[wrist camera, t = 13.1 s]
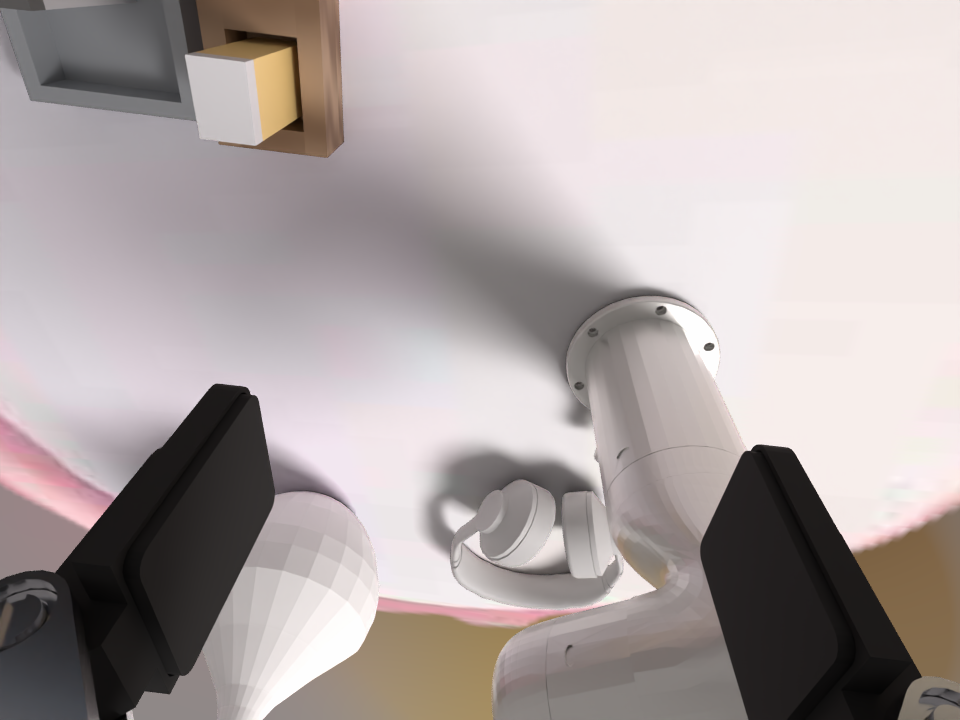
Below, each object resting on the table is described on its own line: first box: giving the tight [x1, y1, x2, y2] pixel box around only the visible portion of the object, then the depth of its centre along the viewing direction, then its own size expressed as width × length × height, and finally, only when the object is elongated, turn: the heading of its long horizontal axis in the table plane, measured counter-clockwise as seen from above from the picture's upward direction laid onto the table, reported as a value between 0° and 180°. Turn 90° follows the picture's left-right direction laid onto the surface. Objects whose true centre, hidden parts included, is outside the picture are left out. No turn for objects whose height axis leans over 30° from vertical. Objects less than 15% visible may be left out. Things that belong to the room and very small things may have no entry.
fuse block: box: [196, 0, 344, 158], centre depth 33 cm, size 16×7×4 cm, turn 174°
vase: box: [202, 491, 379, 720], centre depth 51 cm, size 18×18×30 cm
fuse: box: [185, 37, 303, 146], centre depth 32 cm, size 4×3×9 cm
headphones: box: [450, 479, 624, 610], centre depth 59 cm, size 18×8×20 cm
